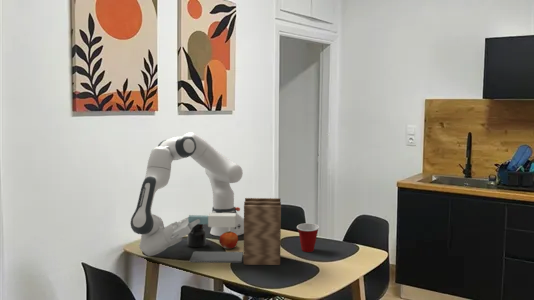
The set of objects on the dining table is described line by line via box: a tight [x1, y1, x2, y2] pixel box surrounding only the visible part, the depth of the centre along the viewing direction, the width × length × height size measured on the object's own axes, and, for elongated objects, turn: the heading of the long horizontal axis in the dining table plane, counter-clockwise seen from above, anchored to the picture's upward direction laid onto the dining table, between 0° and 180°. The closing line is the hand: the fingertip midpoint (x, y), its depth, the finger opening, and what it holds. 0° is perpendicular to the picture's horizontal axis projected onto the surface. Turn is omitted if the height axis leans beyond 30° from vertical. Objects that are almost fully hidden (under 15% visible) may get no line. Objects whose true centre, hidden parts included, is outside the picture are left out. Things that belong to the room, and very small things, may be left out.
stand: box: [243, 197, 282, 266], centre depth 227 cm, size 16×14×27 cm
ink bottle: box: [187, 224, 207, 248], centre depth 249 cm, size 10×9×12 cm
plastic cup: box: [296, 222, 320, 253], centre depth 243 cm, size 11×11×12 cm
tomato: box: [219, 231, 239, 250], centre depth 246 cm, size 9×9×8 cm
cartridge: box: [187, 212, 236, 228], centre depth 227 cm, size 21×6×5 cm, turn 90°
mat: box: [189, 250, 244, 264], centre depth 231 cm, size 23×13×1 cm, turn 90°
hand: (200, 218), depth 227 cm, fingers closed on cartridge, 3 cm apart
